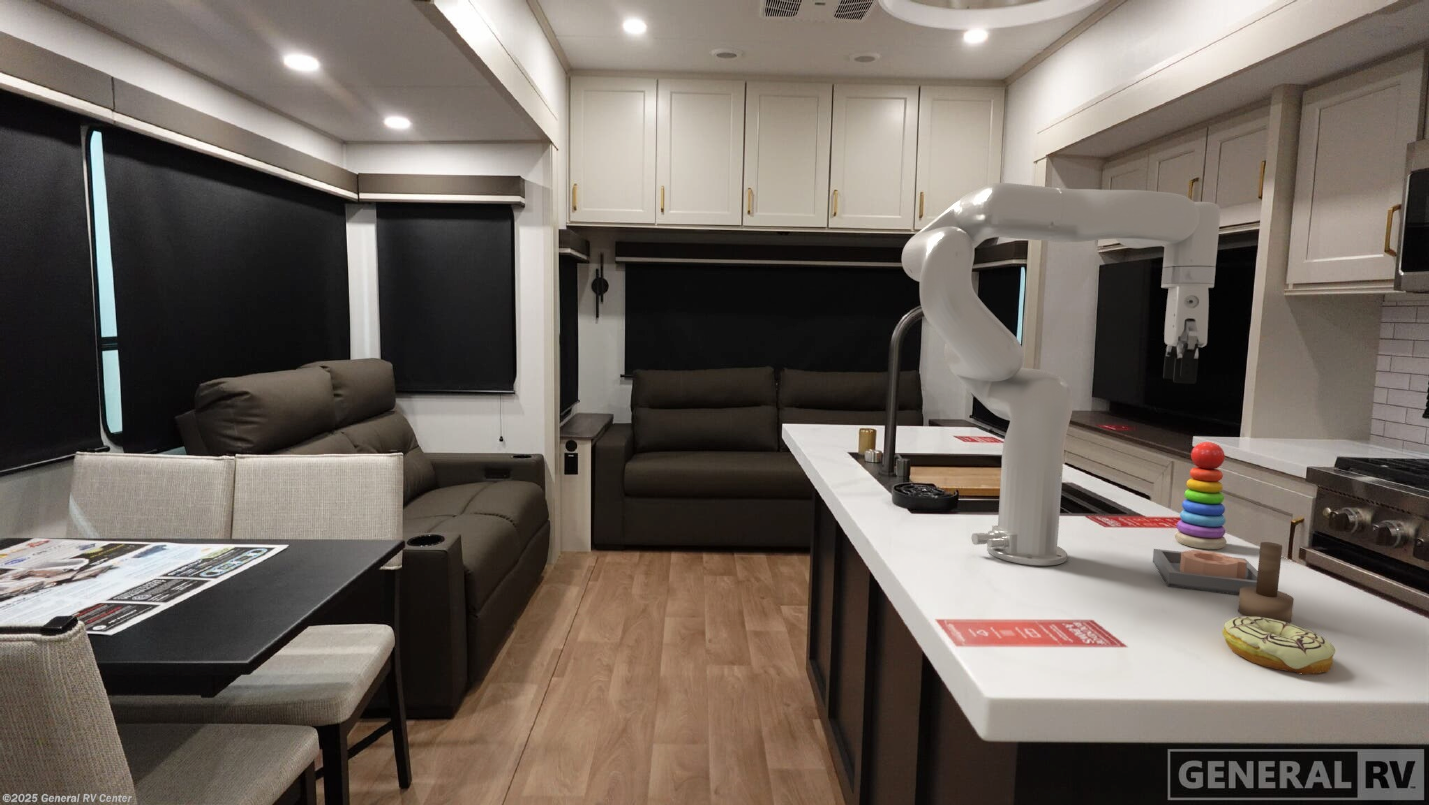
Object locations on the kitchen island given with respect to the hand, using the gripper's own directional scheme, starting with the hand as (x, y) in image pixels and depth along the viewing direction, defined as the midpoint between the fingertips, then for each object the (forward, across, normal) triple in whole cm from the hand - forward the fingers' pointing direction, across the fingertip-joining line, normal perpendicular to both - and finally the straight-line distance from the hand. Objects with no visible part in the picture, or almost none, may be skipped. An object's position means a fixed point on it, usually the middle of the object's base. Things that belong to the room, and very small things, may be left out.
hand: (1178, 381), depth 129 cm
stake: (+30, -27, -8) cm, 41 cm away
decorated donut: (+31, -42, -6) cm, 52 cm away
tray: (+30, -12, -4) cm, 33 cm away
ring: (+30, -12, -4) cm, 32 cm away
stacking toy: (+30, +10, -7) cm, 33 cm away
